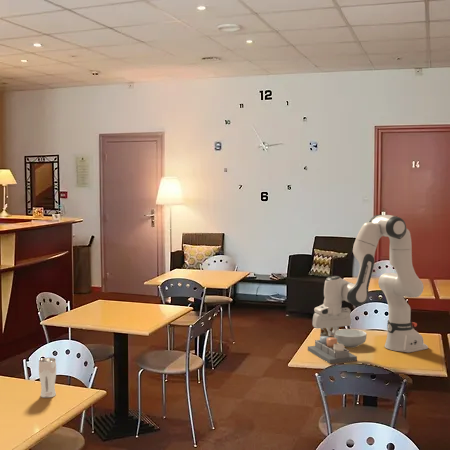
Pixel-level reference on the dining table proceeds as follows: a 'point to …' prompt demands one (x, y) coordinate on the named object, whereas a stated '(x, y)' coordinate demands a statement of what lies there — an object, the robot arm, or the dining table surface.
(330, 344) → the key terracotta
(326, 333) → the coffee box
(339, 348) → the key ivory
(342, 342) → the cereal bowl
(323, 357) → the grey slotted rack
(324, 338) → the key slate
